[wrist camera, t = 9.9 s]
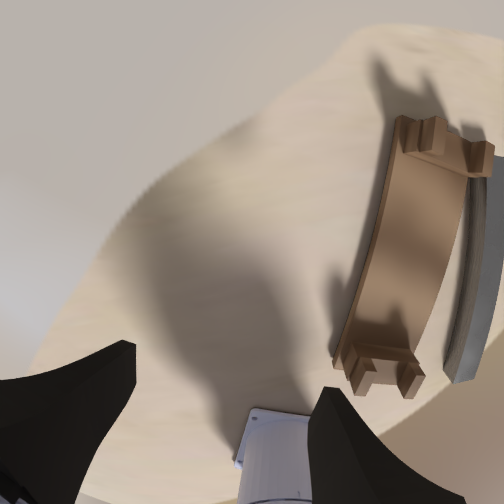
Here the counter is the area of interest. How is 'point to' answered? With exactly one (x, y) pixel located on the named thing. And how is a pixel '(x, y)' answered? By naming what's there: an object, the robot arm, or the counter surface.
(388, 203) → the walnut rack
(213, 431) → the counter surface
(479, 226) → the graphite rail
